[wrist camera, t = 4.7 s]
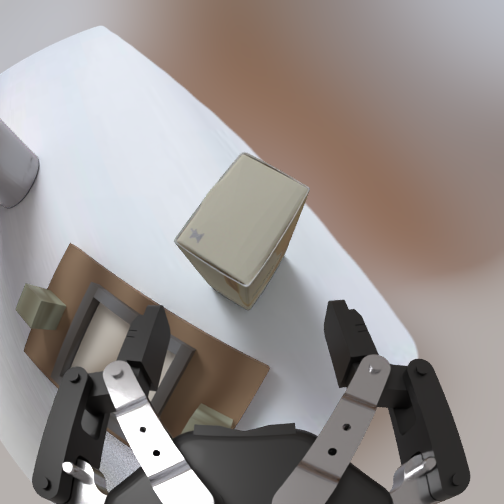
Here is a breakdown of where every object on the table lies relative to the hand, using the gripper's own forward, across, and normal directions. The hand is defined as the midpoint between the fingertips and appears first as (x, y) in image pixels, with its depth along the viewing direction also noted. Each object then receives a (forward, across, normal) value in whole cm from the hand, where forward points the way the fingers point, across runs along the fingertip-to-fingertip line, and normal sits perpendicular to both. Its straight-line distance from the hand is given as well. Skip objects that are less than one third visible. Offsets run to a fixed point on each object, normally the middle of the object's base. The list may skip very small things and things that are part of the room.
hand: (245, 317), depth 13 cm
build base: (+4, +12, +11) cm, 17 cm away
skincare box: (+11, 0, +4) cm, 12 cm away
